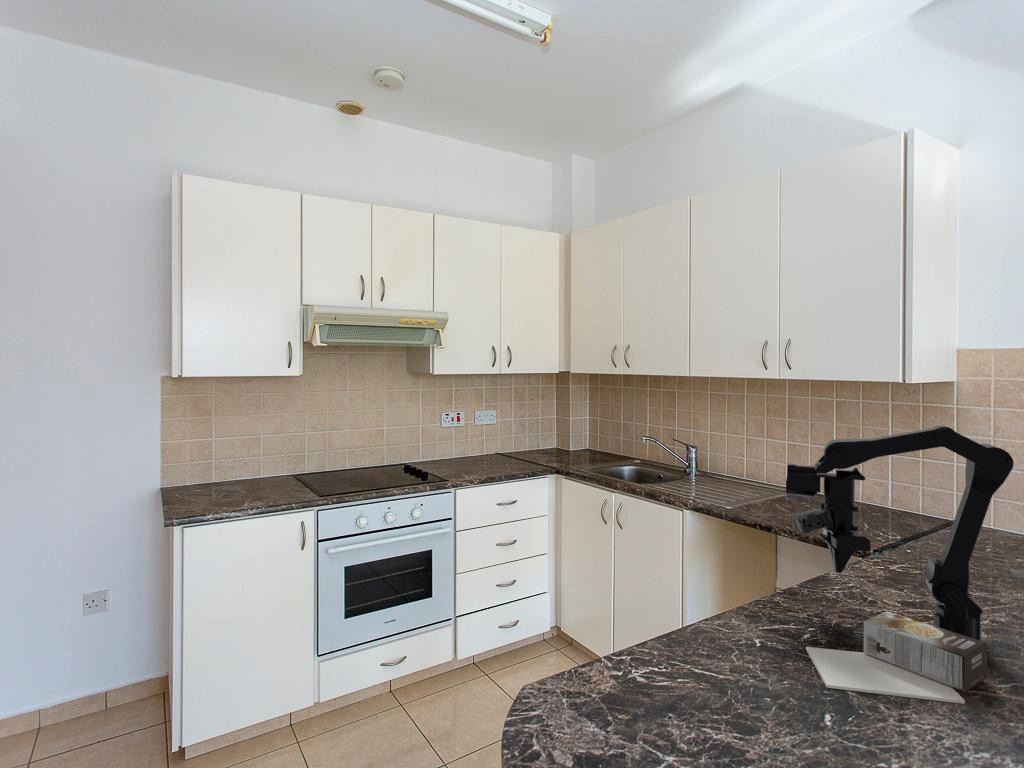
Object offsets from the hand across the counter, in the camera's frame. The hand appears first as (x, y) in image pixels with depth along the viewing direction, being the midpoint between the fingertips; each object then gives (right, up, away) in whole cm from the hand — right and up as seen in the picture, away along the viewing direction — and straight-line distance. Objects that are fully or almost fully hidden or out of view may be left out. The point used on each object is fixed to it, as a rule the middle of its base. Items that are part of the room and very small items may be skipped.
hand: (838, 571), depth 123 cm
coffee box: (-1, -7, -13) cm, 15 cm away
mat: (-5, -11, -22) cm, 25 cm away
